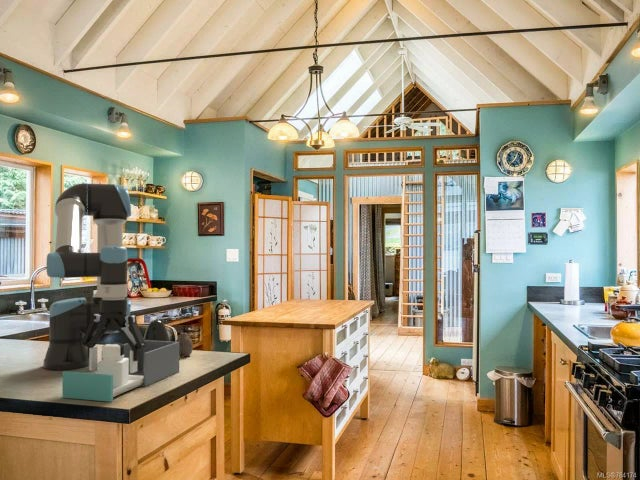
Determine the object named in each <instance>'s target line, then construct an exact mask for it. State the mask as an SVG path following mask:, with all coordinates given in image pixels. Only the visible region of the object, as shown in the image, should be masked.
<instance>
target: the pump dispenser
mask: <svg viewBox="0 0 640 480" xmlns="http://www.w3.org/2000/svg"><path fill="white" fill-rule="evenodd" d="M166 323H168V320H166V319H164V320H160V319H154V320H151V321H150V322H149V324H148V325H147V327H146V330H145V333H144V334H143V335H144V336H143V338H144V340H150V341H168V342H171V339H170V335H169V332H168V329H167V327H166Z"/></svg>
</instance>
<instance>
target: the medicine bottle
mask: <svg viewBox="0 0 640 480" xmlns="http://www.w3.org/2000/svg"><path fill="white" fill-rule="evenodd" d="M123 357H124V345H123V343H120V342H110V343H109V342H108V343H105V344H103V345H102V347H101V360H100V361H97V369H96V374H108V375H113V387H120V386H123V385H124V384H126V383H127V382H128V381H129V358H123ZM102 358H103V360H102Z"/></svg>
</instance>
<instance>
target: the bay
mask: <svg viewBox="0 0 640 480" xmlns="http://www.w3.org/2000/svg"><path fill="white" fill-rule="evenodd" d="M144 341H145V343H146V346H145V347H143V348H141V349H140V359H139V360H138V361H137V371H136V372H134V373H130V350H132V348H131V347H130V345H129V344H128V342H127V343H124V344H123V343H122V344H123V345H124V357H123V358H129V375H138V376H144V381H143V384H142V385H140V386H139V387H144V388H146V387H149V386H150V385H153V384H154V383H157V382H159V381H162V380H165V379H167V378H169V377H171V376H173V375H175V374H176V375H177V374H178V373H180V357H179V342H176V341H170V342H168V341H150V340H144ZM101 360H103V358H102V357H101Z"/></svg>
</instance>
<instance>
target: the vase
mask: <svg viewBox="0 0 640 480" xmlns="http://www.w3.org/2000/svg"><path fill="white" fill-rule="evenodd" d="M175 342H179V358H187V357H189V356H190V355H192V353H193V351H194V343H193V340H192V338H191V337H190V336H189V335H188V333H187V332H180V334H179V336H178V338H176V340H175Z"/></svg>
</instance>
